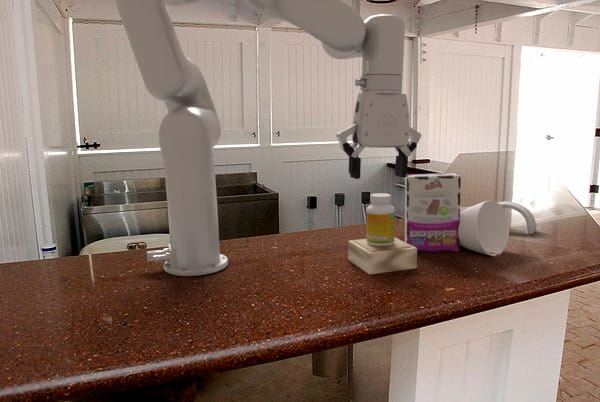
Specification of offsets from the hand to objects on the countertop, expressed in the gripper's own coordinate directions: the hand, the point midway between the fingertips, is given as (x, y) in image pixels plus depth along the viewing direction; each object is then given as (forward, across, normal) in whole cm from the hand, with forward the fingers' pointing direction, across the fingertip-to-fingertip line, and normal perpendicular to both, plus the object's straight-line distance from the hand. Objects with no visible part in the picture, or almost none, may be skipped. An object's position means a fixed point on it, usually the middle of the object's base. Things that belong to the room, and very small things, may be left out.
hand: (378, 177), depth 93 cm
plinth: (+17, +1, 0) cm, 17 cm away
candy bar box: (+17, +16, +5) cm, 24 cm away
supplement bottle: (+13, +1, 0) cm, 13 cm away
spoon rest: (+17, +40, +17) cm, 47 cm away
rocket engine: (+17, +24, +5) cm, 30 cm away
